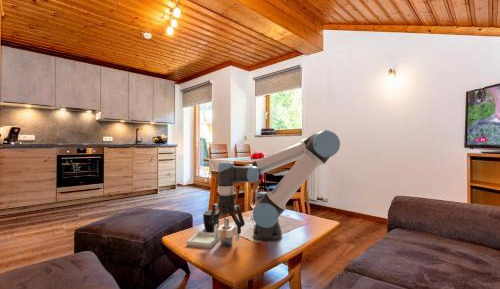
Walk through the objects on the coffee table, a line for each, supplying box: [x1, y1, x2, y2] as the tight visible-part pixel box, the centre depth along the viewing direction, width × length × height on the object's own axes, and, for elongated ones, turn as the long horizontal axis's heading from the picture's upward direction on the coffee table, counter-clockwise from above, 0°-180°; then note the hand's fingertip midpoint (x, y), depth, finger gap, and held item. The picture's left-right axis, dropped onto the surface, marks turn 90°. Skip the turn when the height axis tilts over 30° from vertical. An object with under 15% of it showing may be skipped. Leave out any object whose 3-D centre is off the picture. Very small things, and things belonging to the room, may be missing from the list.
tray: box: [186, 231, 221, 249], centre depth 124 cm, size 13×13×2 cm
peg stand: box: [220, 216, 233, 248], centre depth 120 cm, size 6×6×13 cm
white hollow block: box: [217, 223, 237, 239], centre depth 119 cm, size 9×7×3 cm
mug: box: [202, 209, 220, 233], centre depth 141 cm, size 12×9×10 cm
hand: (226, 239), depth 120 cm, fingers open, 10 cm apart
